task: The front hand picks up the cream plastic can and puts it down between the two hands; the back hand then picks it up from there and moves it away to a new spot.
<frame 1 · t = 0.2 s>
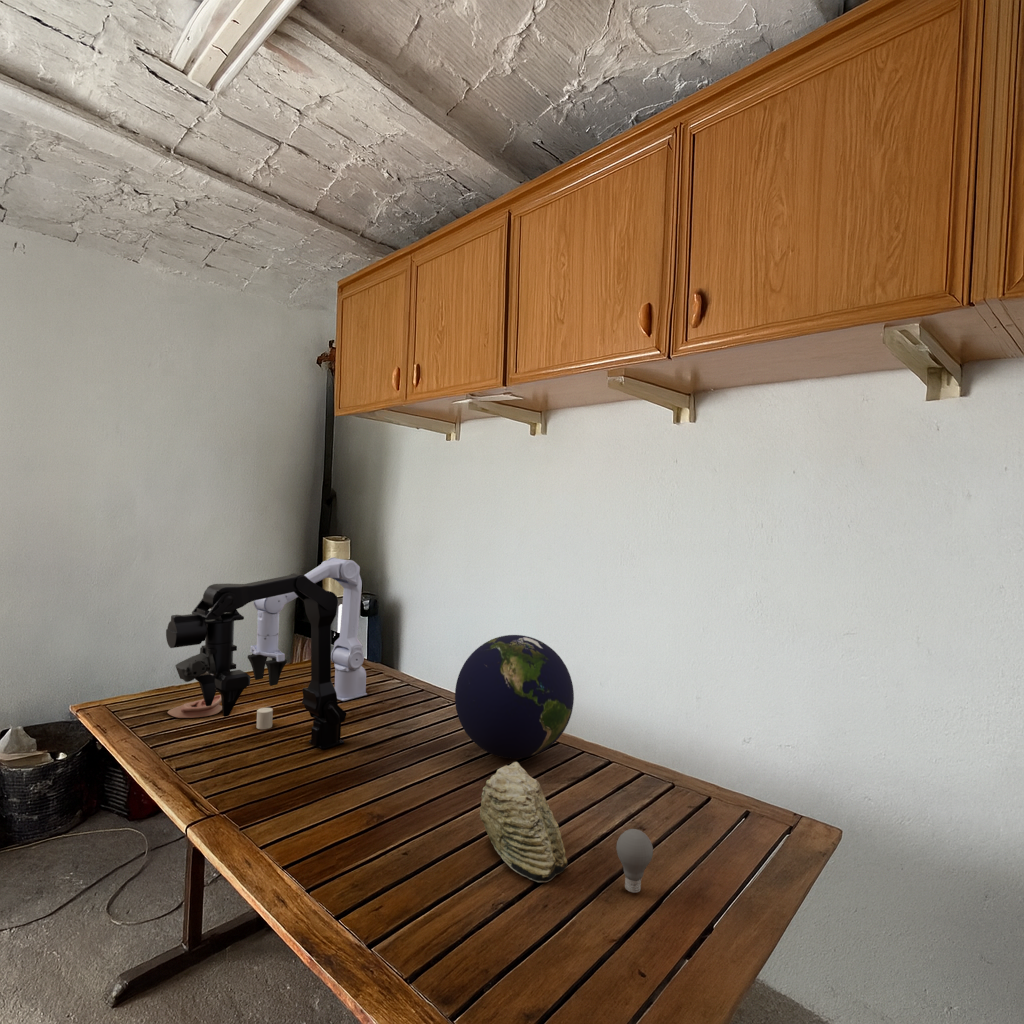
front hand: (217, 711, 141), 15 cm above the table, tool pointing down, fingers open, 9 cm apart
back hand: (266, 682, 179), 10 cm above the table, tool pointing down, fingers open, 7 cm apart
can: (264, 726, 172), on the table
globe: (511, 755, 160), on the table
fossil: (519, 856, 115), on the table
light bulb: (632, 891, 106), on the table
anatomical model: (195, 712, 180), on the table
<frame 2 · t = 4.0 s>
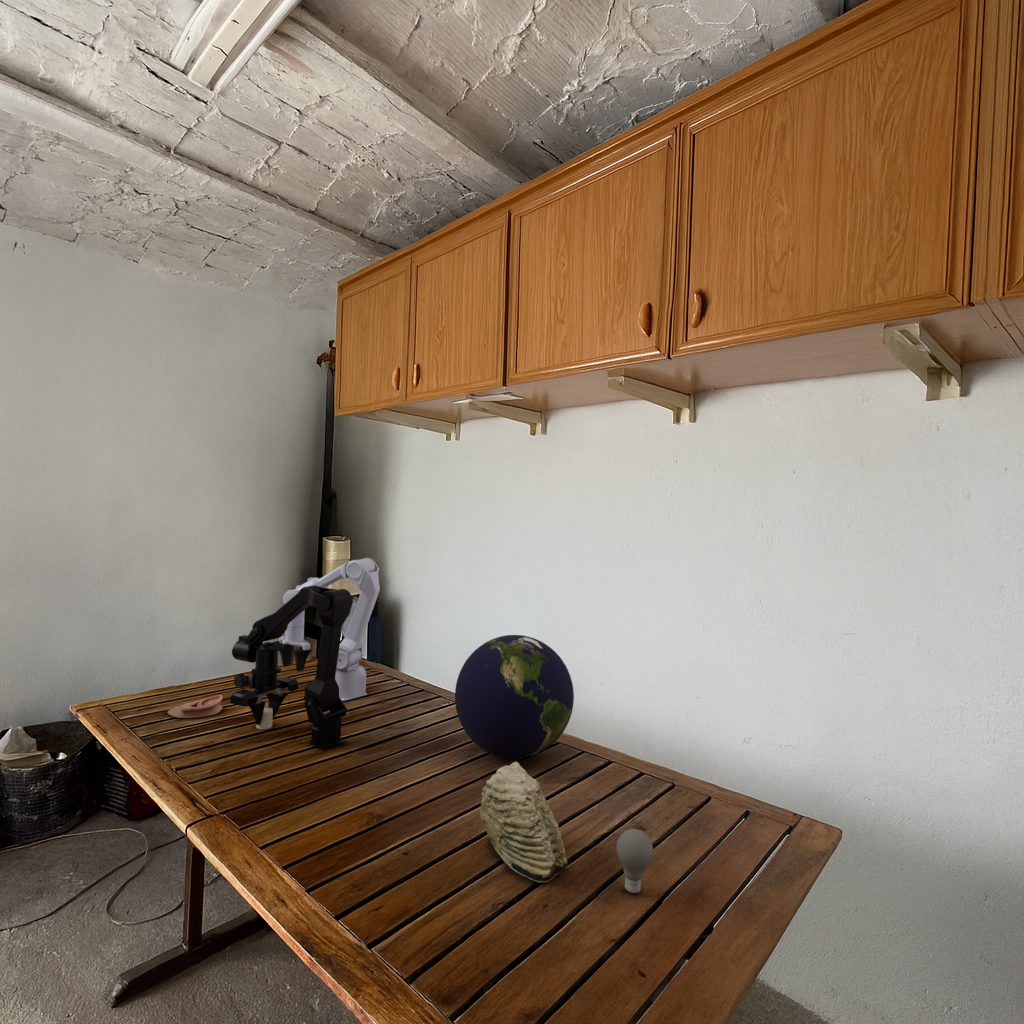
front hand: (264, 722, 172), 1 cm above the table, tool pointing down, fingers closed on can, 4 cm apart
back hand: (293, 668, 205), 7 cm above the table, tool pointing down, fingers open, 7 cm apart
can: (264, 726, 172), on the table, touching front hand
everything else where it was.
when the front hand's fingers open (2 cm above the table, at t = 7.3 s): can drops 1 cm, on the table.
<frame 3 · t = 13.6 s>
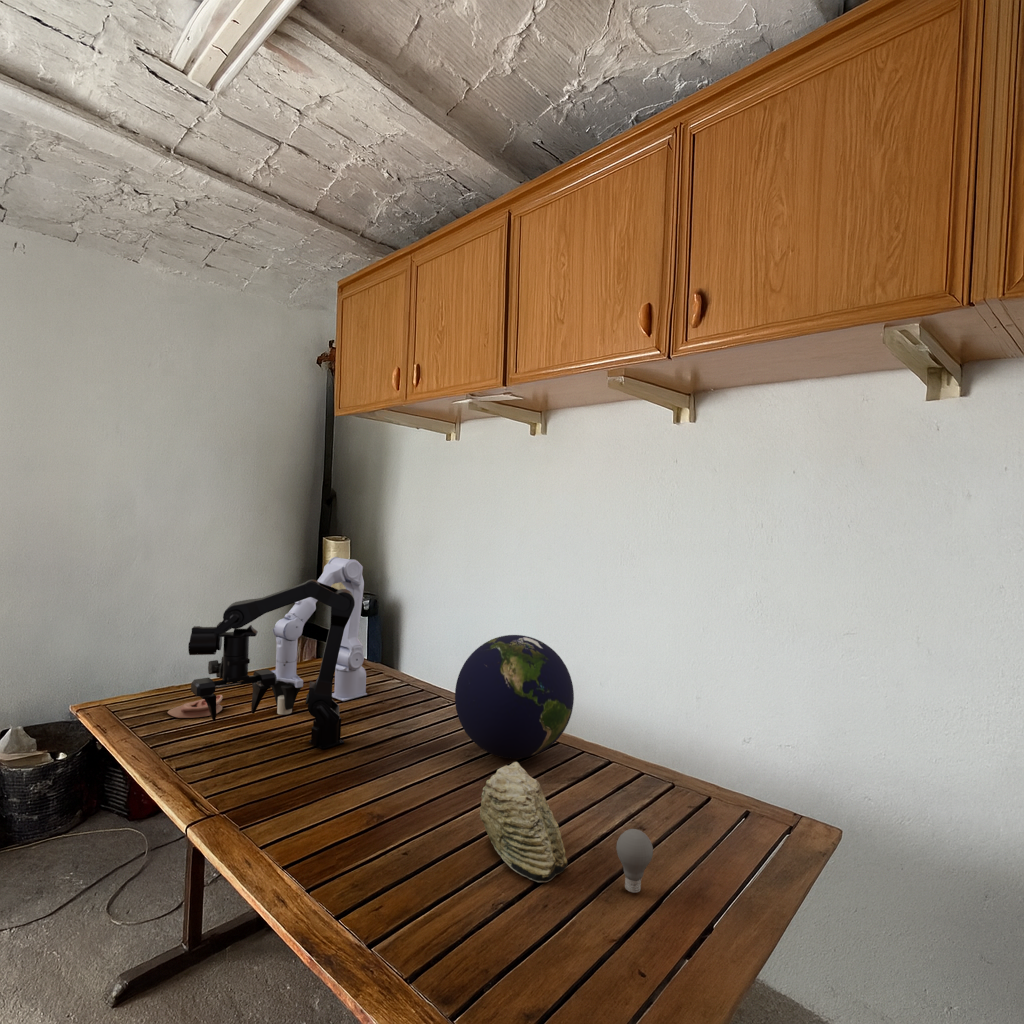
front hand: (233, 716, 156), 8 cm above the table, tool pointing down, fingers open, 9 cm apart
back hand: (284, 707, 184), 2 cm above the table, tool pointing down, fingers closed on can, 4 cm apart
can: (284, 712, 184), on the table, touching back hand
everything else where it was.
when the back hand's fingers open (3 cm above the table, at t = 18.5 s): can drops 1 cm, on the table.
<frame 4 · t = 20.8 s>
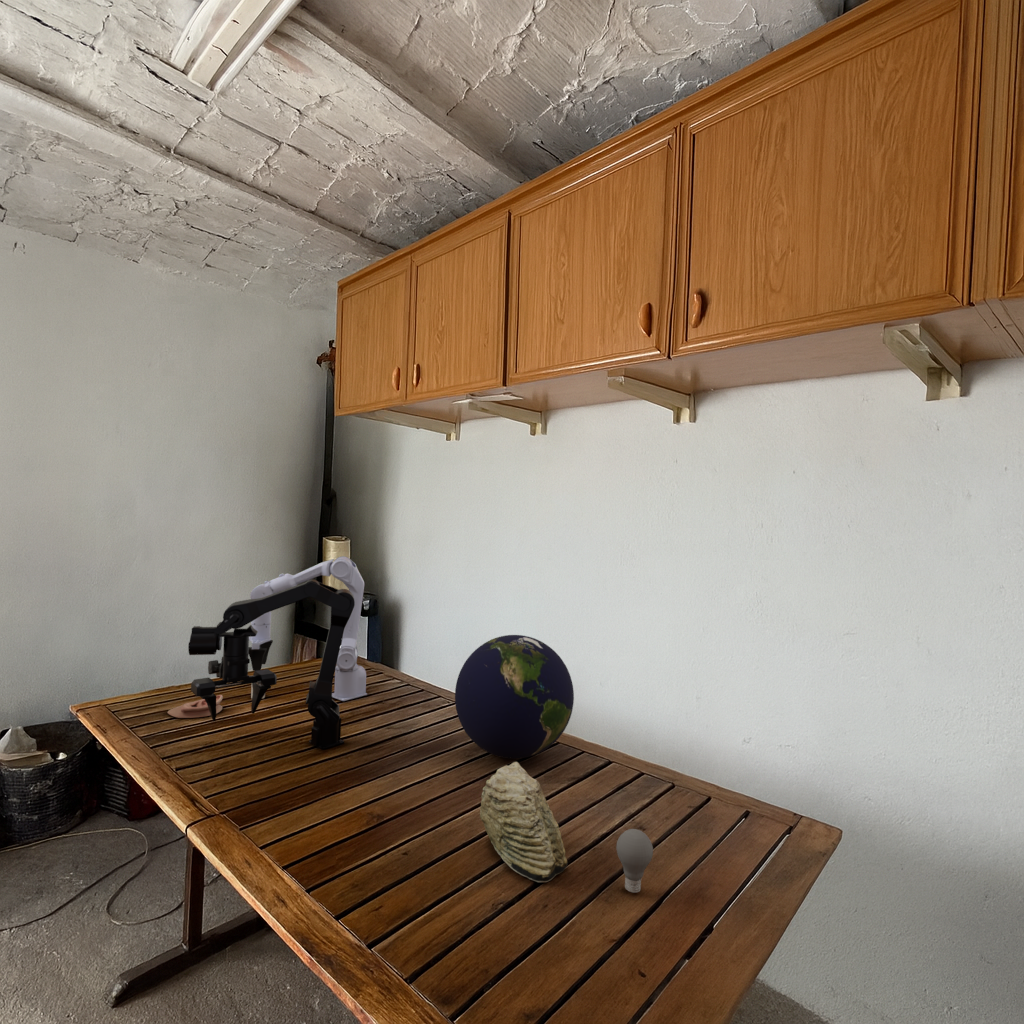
front hand: (233, 716, 156), 8 cm above the table, tool pointing down, fingers open, 9 cm apart
back hand: (259, 667, 196), 9 cm above the table, tool pointing down, fingers open, 7 cm apart
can: (258, 697, 196), on the table
everything else where it was.
at the end: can inside the target area (0.1 cm from its centre), on the table; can tilted 0°; the two hands never held the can at the same time; the front hand is holding nothing; the back hand is holding nothing; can at rest at the end (0.0 cm/s) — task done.
